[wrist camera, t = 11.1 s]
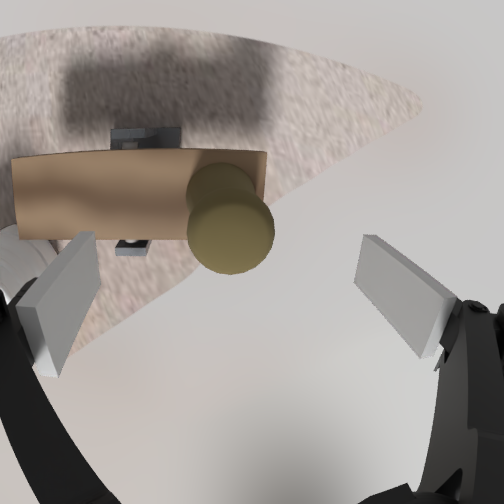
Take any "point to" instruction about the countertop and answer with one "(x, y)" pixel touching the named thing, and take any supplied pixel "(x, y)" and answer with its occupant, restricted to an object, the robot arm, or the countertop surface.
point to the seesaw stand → (145, 140)
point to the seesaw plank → (116, 191)
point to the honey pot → (21, 260)
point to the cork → (227, 220)
